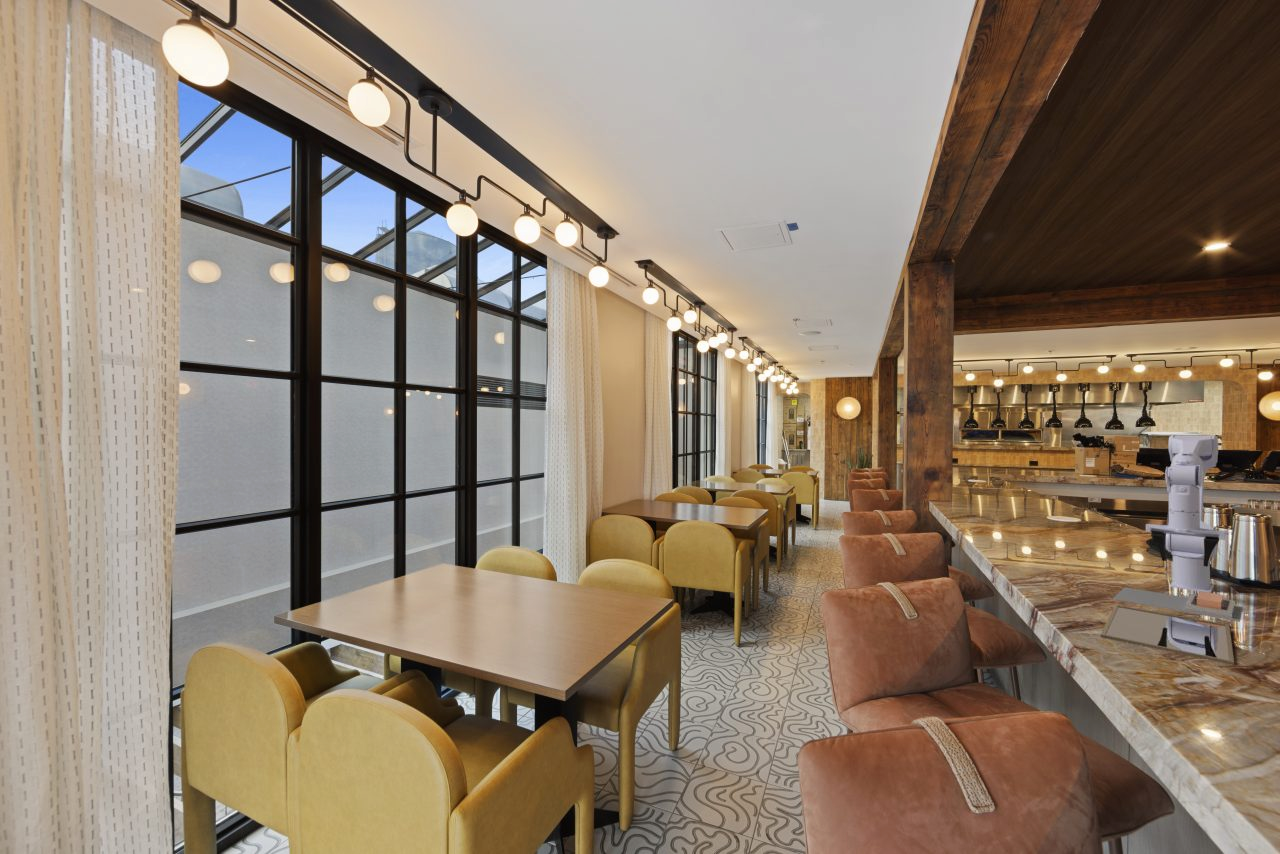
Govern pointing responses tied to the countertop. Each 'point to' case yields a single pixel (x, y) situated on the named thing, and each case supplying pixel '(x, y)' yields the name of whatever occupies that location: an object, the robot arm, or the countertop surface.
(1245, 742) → the countertop surface
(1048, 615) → the countertop surface
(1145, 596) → the mat
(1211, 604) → the tall peach block
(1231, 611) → the tray frame
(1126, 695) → the countertop surface
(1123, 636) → the framed mirror
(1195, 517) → the robot arm
